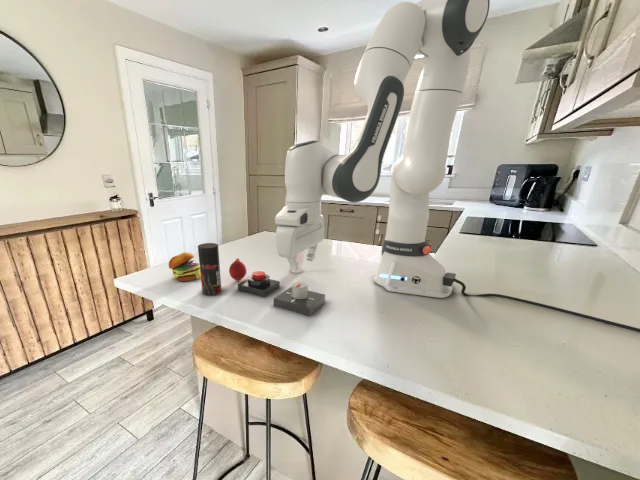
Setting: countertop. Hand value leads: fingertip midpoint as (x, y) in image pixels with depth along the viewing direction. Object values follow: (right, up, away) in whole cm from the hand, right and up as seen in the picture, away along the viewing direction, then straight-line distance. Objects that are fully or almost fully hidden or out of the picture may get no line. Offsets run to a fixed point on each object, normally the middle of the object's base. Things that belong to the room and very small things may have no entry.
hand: (302, 264), depth 83 cm
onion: (-19, -4, +22) cm, 29 cm away
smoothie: (+2, 0, +30) cm, 30 cm away
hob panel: (0, -11, +4) cm, 12 cm away
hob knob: (0, -9, +3) cm, 9 cm away
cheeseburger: (-37, -3, +27) cm, 46 cm away
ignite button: (-12, -3, +14) cm, 18 cm away
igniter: (-12, -7, +15) cm, 20 cm away
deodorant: (-26, -8, +14) cm, 31 cm away
